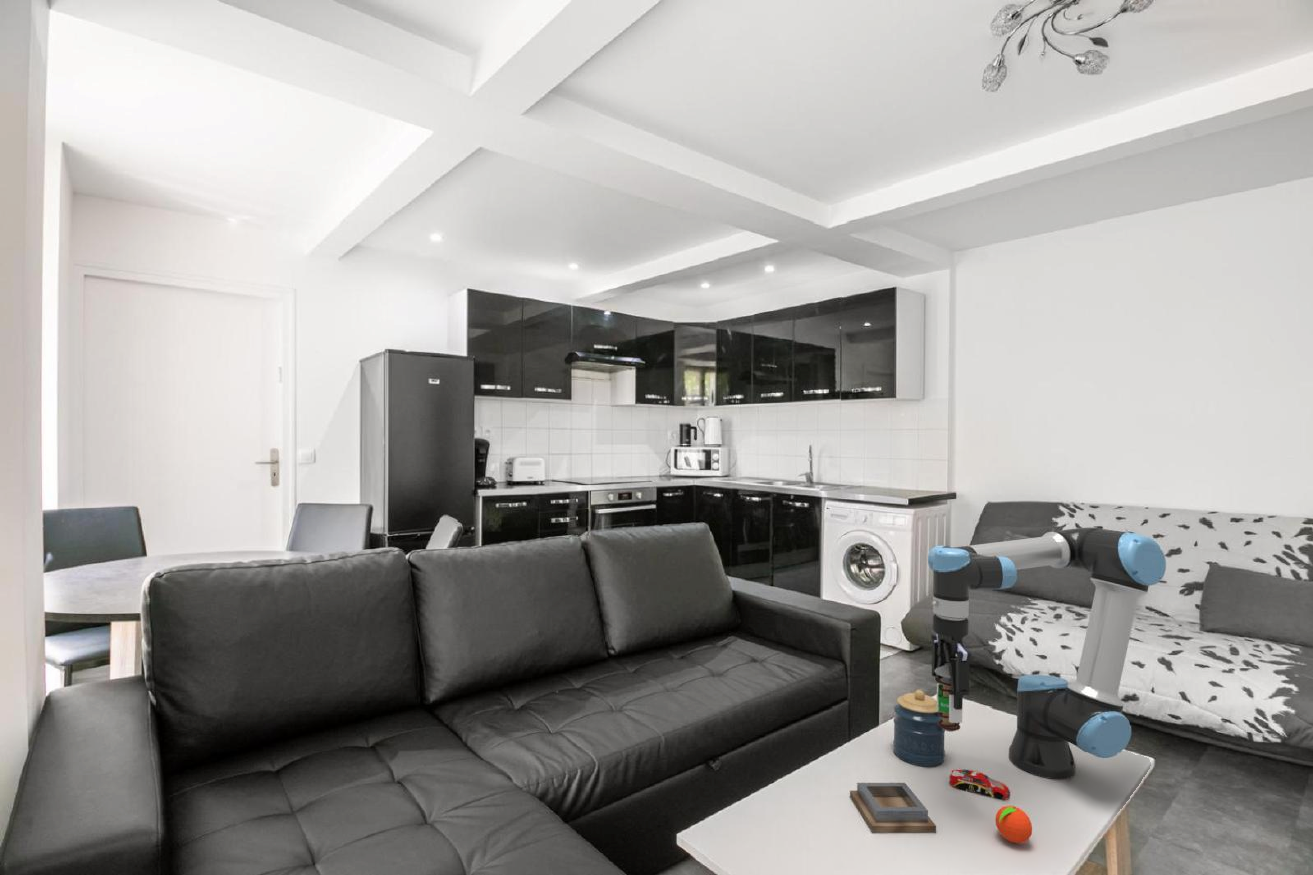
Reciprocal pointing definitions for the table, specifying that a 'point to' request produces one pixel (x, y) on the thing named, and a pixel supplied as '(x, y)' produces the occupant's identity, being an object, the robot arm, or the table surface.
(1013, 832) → the clementine
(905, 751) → the canister
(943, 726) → the shock absorber
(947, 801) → the table surface
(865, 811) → the plate
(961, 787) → the race car
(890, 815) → the socket collar
